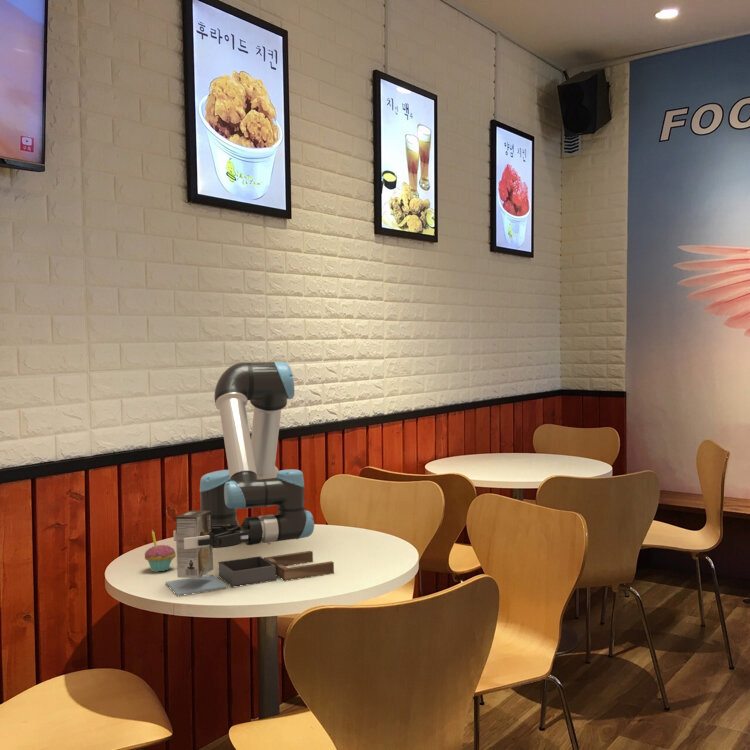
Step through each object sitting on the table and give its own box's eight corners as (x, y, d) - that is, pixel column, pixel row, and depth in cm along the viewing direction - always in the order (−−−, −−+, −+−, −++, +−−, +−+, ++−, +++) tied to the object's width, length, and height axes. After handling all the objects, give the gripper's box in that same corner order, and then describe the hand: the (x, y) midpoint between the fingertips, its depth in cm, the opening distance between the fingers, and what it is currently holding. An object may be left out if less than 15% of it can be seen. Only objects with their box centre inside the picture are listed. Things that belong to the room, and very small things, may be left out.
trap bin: (218, 576, 219) (218, 562, 219) (260, 570, 225) (260, 556, 225) (232, 587, 208) (232, 572, 208) (275, 580, 214) (275, 565, 214)
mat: (165, 584, 213) (165, 581, 213) (212, 577, 219) (212, 574, 219) (177, 596, 201) (177, 594, 201) (227, 588, 207) (226, 586, 207)
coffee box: (191, 568, 215) (190, 509, 215) (213, 569, 214) (212, 510, 214) (176, 577, 206) (174, 516, 206) (199, 578, 205) (197, 516, 205)
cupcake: (147, 575, 222) (145, 533, 222) (143, 568, 230) (142, 527, 229) (178, 571, 225) (177, 529, 225) (173, 564, 233) (172, 524, 233)
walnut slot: (264, 567, 228) (263, 557, 228) (310, 560, 234) (310, 550, 234) (284, 581, 213) (284, 570, 213) (333, 573, 220) (333, 562, 220)
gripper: (274, 551, 208) (190, 563, 198) (245, 535, 228) (168, 545, 218) (273, 523, 208) (190, 533, 198) (245, 510, 228) (168, 518, 218)
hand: (178, 539), depth 208 cm, fingers closed on coffee box, 10 cm apart
